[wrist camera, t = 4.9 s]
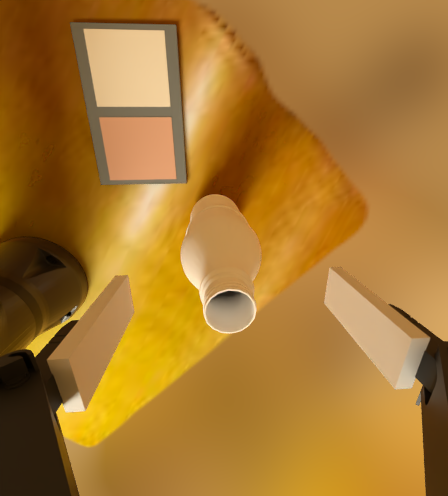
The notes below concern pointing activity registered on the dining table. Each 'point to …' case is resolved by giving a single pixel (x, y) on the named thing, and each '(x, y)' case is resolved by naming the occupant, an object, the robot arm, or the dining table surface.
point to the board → (133, 100)
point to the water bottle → (222, 262)
